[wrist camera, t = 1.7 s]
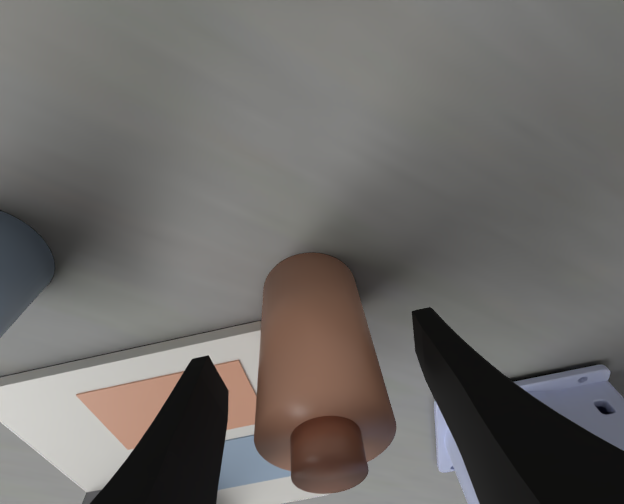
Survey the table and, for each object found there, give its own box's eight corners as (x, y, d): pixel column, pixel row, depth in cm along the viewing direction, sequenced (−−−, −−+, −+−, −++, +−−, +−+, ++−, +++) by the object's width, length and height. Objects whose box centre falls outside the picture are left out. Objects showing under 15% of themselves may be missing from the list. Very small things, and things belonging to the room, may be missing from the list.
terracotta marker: (347, 243, 14) (400, 415, 8) (361, 314, 16) (411, 495, 10) (251, 265, 15) (228, 449, 8) (277, 333, 17) (275, 520, 10)
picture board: (260, 320, 16) (257, 375, 14) (328, 484, 25) (333, 537, 22) (-25, 382, 17) (-78, 445, 14) (137, 521, 26) (121, 575, 23)
